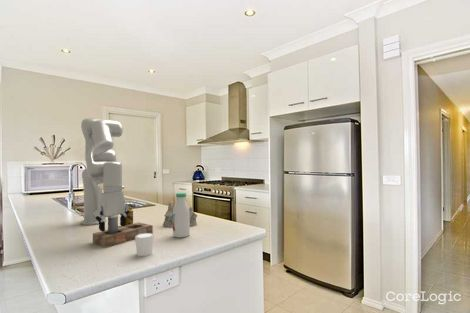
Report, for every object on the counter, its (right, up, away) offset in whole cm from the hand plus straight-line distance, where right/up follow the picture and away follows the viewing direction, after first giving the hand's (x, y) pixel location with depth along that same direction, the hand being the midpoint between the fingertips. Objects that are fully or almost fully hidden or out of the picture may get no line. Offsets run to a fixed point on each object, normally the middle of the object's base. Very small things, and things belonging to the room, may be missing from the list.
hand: (112, 228), depth 114 cm
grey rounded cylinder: (0, -6, 0) cm, 6 cm away
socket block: (+3, -6, +5) cm, 8 cm away
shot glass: (+19, -6, -15) cm, 25 cm away
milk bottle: (+29, -6, +8) cm, 30 cm away
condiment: (-4, -6, +23) cm, 24 cm away
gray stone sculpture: (+24, -6, +28) cm, 37 cm away
